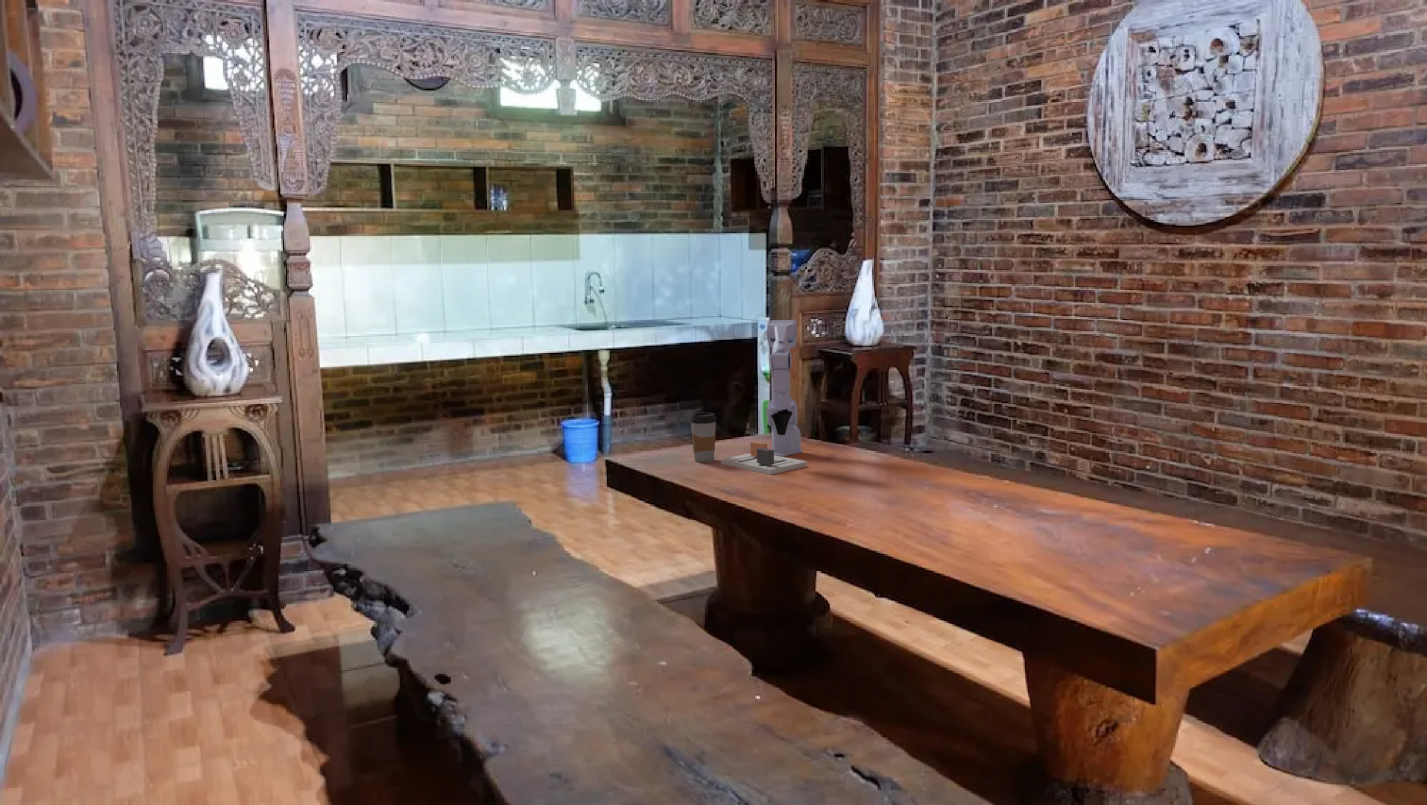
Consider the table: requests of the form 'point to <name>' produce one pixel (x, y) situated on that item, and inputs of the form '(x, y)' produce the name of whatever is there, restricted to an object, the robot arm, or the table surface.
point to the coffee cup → (703, 436)
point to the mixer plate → (751, 464)
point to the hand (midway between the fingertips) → (781, 434)
